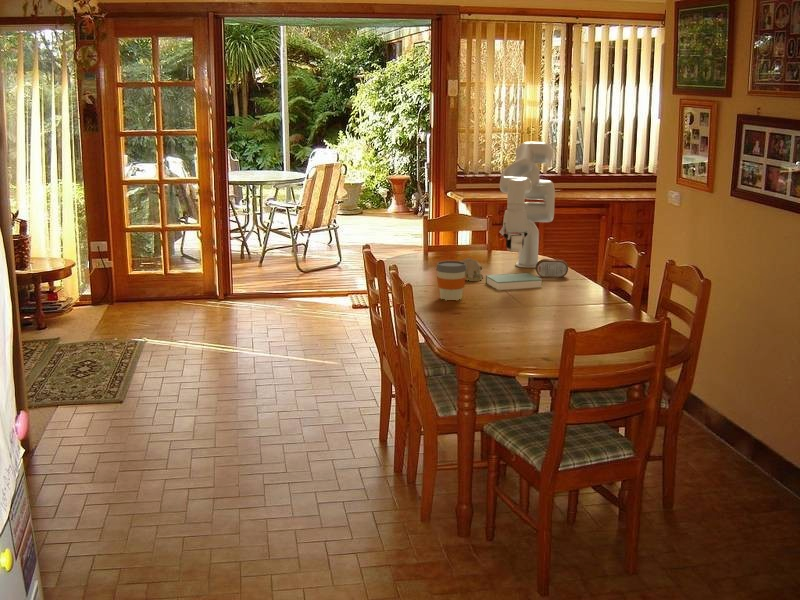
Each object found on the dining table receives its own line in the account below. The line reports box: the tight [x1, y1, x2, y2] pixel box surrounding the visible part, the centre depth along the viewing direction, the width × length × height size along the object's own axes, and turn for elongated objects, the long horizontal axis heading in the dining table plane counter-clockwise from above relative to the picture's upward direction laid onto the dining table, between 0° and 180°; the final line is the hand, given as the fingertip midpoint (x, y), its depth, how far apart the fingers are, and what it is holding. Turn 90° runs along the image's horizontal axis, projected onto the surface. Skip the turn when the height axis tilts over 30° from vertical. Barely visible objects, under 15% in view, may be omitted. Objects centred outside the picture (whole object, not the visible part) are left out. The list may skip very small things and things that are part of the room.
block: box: [506, 233, 523, 253], centre depth 415 cm, size 5×5×7 cm
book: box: [485, 272, 543, 291], centre depth 419 cm, size 15×21×4 cm
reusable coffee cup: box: [436, 260, 466, 301], centre depth 393 cm, size 13×12×15 cm
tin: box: [535, 258, 569, 278], centre depth 436 cm, size 15×3×8 cm, turn 84°
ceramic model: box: [460, 257, 484, 282], centre depth 433 cm, size 14×11×10 cm
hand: (514, 247), depth 415 cm, fingers closed on block, 5 cm apart
